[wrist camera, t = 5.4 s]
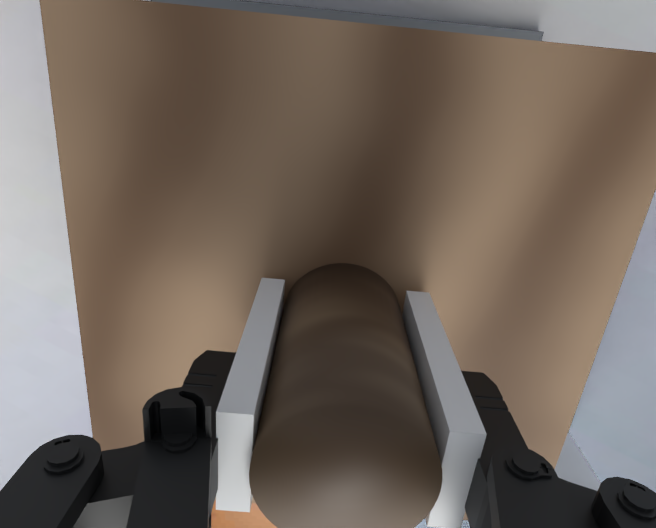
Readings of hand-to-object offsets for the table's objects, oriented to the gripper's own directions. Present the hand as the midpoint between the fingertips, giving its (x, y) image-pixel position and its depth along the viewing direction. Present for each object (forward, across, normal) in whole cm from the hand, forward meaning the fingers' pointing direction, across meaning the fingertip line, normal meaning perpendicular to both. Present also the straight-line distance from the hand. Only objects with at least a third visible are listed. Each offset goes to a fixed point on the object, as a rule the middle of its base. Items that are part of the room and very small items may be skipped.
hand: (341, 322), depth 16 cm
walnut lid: (+1, 0, 0) cm, 1 cm away
